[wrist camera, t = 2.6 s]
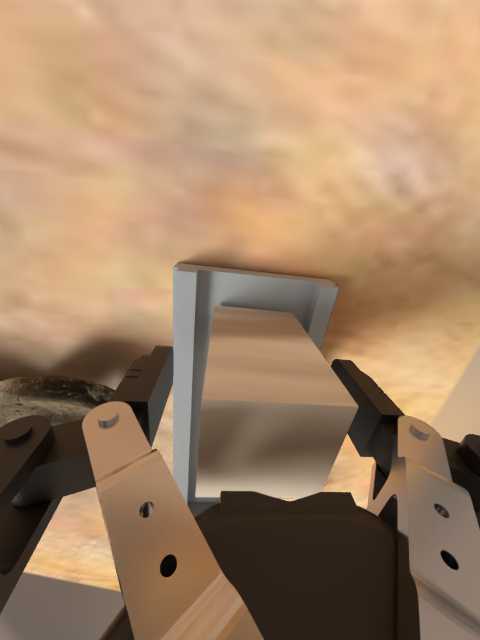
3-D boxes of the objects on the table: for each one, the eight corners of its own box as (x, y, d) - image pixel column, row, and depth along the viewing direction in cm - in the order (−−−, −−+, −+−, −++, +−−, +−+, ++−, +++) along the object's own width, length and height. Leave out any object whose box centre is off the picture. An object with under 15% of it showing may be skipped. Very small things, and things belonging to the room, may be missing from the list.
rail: (177, 262, 13) (138, 297, 7) (328, 279, 14) (401, 322, 8) (176, 499, 22) (158, 596, 16) (265, 500, 23) (278, 592, 17)
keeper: (214, 305, 12) (201, 398, 6) (292, 312, 13) (358, 406, 6) (209, 370, 14) (195, 497, 8) (278, 375, 14) (318, 498, 8)
